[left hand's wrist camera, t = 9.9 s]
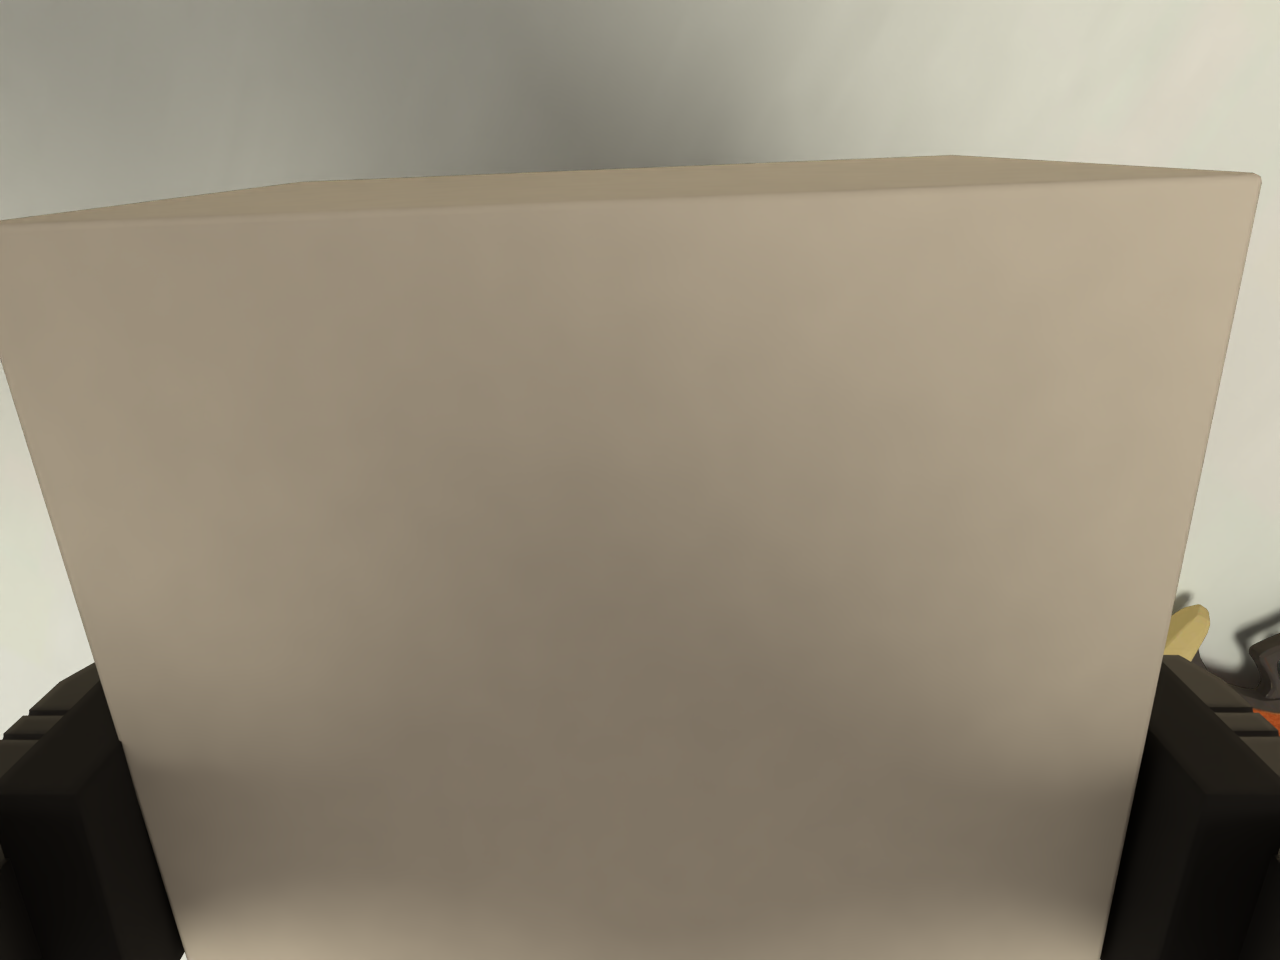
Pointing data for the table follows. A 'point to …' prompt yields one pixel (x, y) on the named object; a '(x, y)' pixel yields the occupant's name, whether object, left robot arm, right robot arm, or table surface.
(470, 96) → the table surface
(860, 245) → the thick board
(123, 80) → the table surface
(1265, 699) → the toy gun
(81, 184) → the table surface
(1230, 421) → the table surface
